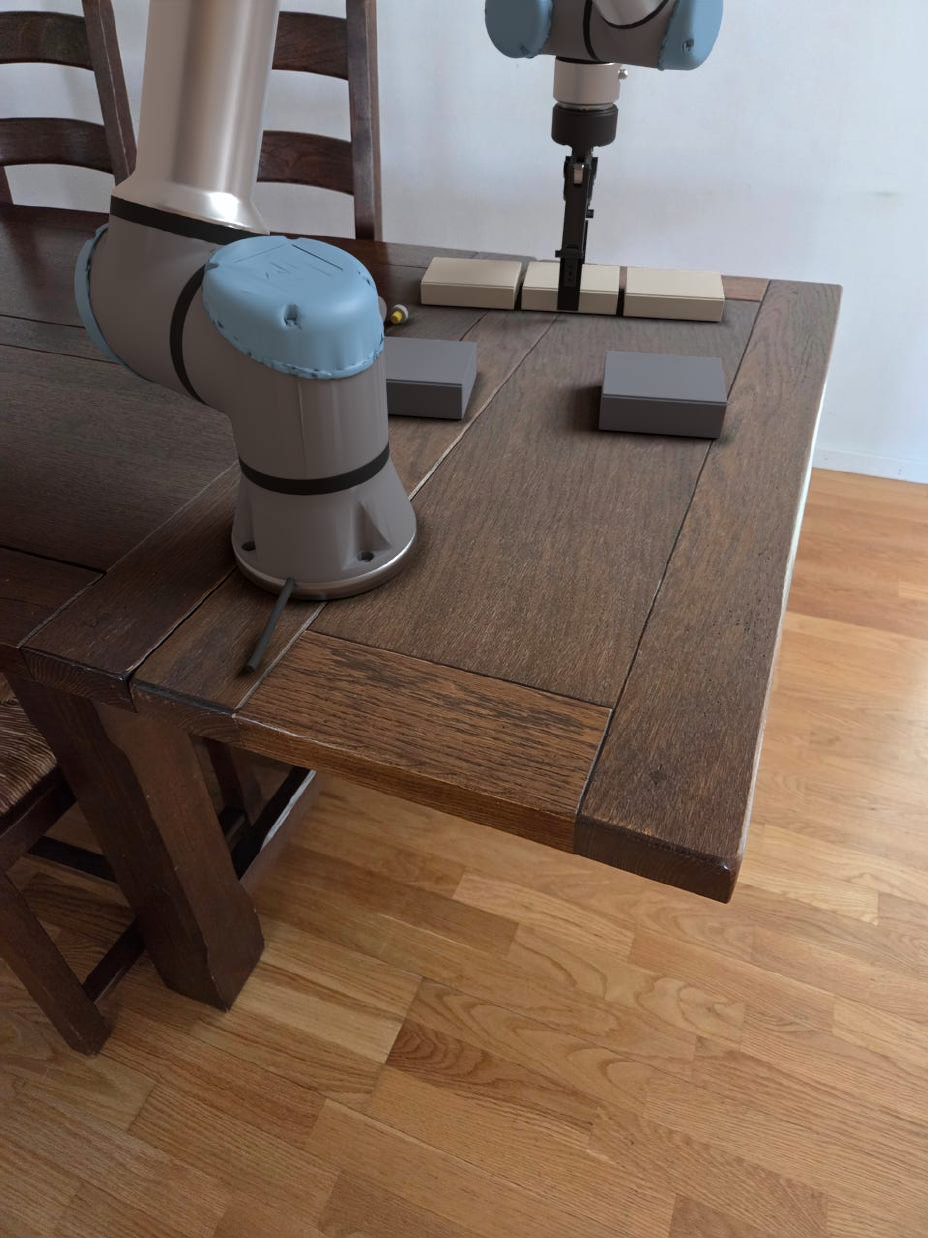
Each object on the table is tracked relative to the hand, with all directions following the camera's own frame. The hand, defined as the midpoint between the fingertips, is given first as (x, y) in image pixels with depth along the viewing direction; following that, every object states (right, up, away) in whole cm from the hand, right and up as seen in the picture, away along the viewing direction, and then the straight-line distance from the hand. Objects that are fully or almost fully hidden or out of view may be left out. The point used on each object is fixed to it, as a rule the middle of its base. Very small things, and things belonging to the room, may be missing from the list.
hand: (570, 289), depth 112 cm
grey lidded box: (-19, -18, -19) cm, 33 cm away
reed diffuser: (-31, -4, -2) cm, 31 cm away
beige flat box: (0, -1, +1) cm, 1 cm away
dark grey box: (+6, -21, -22) cm, 31 cm away
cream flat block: (-13, 0, +2) cm, 13 cm away
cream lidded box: (+13, -2, -1) cm, 13 cm away
